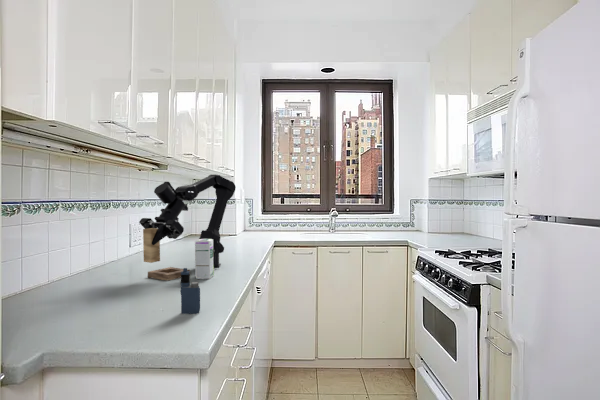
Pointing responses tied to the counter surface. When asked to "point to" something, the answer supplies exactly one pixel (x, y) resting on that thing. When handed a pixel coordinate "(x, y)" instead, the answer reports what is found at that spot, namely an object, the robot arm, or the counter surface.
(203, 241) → the syrup box
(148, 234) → the peg
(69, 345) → the counter surface
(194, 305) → the vaping device
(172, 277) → the socket
